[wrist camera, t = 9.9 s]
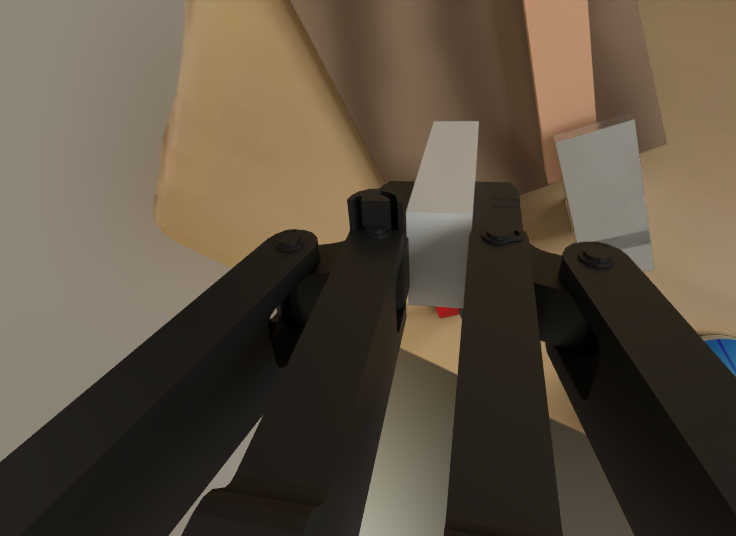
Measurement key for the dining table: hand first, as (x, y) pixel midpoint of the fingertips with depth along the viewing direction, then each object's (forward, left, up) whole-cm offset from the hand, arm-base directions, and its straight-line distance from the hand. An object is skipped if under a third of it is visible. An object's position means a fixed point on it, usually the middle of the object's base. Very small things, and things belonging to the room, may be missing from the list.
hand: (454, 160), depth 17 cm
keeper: (-5, +10, -18) cm, 21 cm away
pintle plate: (0, 0, -18) cm, 18 cm away
